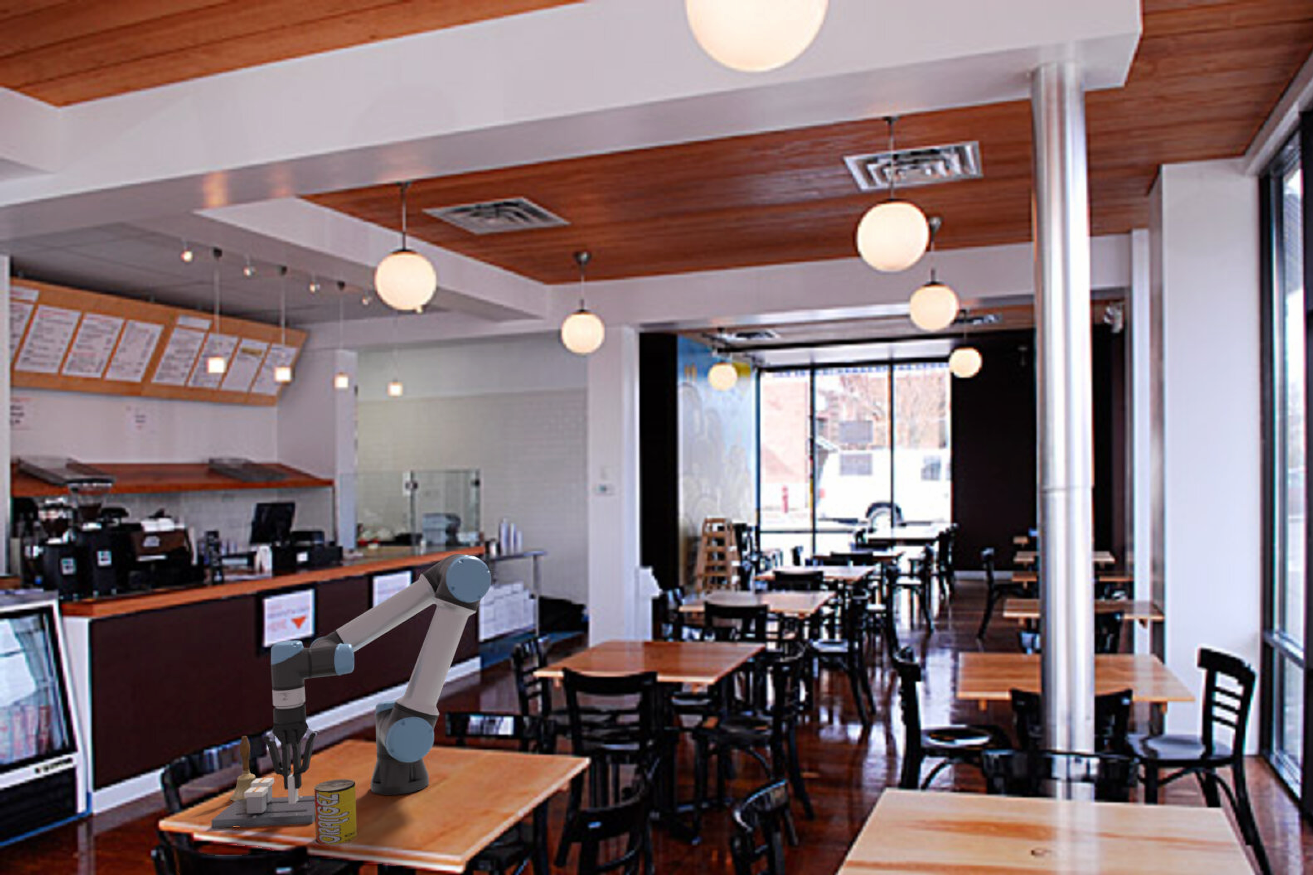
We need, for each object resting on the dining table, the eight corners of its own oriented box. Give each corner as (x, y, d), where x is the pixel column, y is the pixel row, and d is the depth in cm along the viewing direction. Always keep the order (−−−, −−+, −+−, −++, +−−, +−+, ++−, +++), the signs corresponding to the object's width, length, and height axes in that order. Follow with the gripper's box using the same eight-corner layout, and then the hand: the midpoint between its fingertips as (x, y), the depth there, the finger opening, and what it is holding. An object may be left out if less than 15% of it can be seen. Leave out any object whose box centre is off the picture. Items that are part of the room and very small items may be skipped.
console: (331, 802, 260) (331, 794, 261) (312, 823, 244) (311, 814, 245) (237, 807, 260) (237, 798, 260) (211, 828, 244) (211, 819, 244)
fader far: (274, 798, 258) (274, 776, 258) (269, 803, 254) (268, 781, 254) (257, 799, 258) (256, 777, 258) (251, 804, 254) (250, 782, 254)
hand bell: (251, 802, 264) (250, 740, 265) (223, 801, 266) (221, 740, 266) (270, 792, 272) (268, 732, 273) (242, 791, 274) (240, 732, 274)
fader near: (268, 807, 250) (268, 785, 250) (262, 813, 246) (262, 790, 247) (250, 808, 250) (250, 786, 250) (244, 814, 246) (244, 791, 246)
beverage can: (315, 834, 236) (313, 782, 237) (355, 828, 240) (353, 777, 240) (316, 847, 228) (315, 793, 228) (358, 840, 231) (356, 787, 232)
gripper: (257, 710, 246) (261, 808, 245) (311, 706, 246) (315, 805, 245) (268, 703, 253) (272, 798, 252) (320, 700, 254) (325, 795, 253)
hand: (293, 801), depth 249 cm, fingers closed
